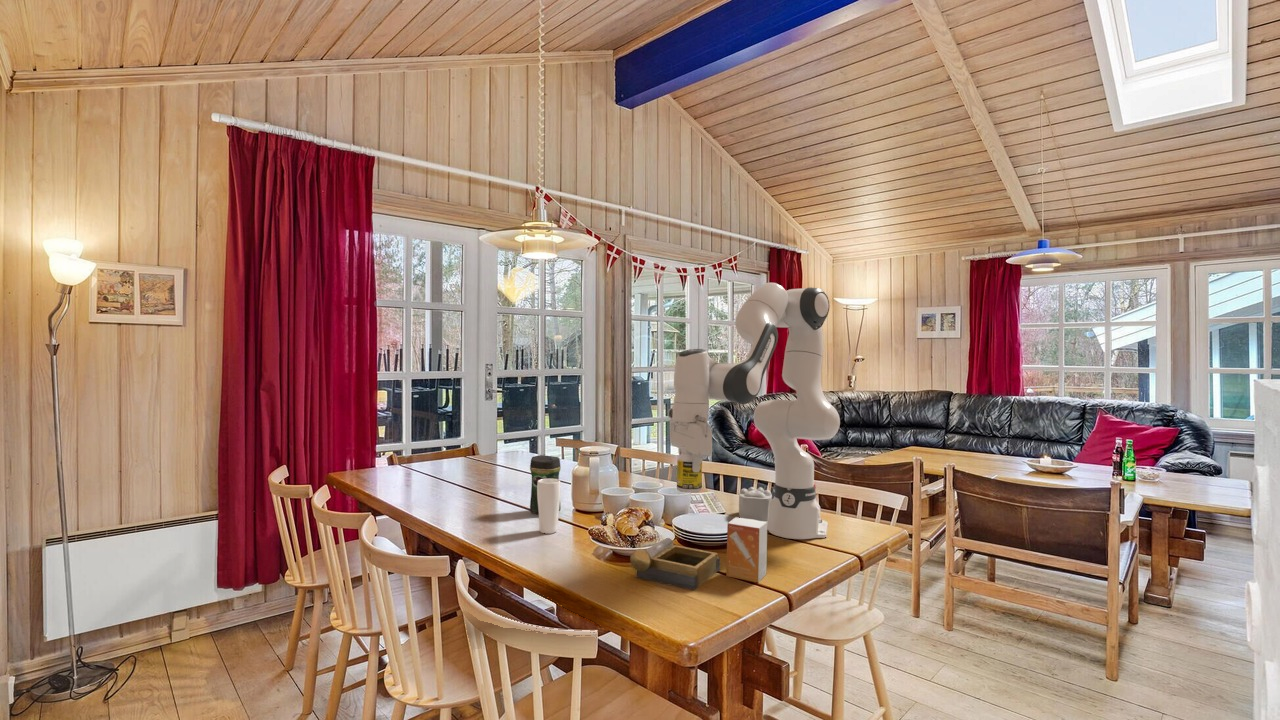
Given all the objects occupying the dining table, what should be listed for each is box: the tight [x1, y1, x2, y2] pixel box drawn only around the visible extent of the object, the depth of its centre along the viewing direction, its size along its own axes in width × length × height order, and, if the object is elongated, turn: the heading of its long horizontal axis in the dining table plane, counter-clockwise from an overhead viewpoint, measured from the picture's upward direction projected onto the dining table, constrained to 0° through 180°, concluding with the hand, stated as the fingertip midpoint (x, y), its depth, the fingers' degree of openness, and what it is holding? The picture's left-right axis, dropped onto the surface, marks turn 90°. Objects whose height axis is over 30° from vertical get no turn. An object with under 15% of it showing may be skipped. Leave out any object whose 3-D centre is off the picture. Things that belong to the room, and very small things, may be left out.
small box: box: [725, 516, 768, 583], centre depth 148 cm, size 8×6×13 cm
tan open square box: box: [629, 537, 721, 591], centre depth 149 cm, size 16×16×7 cm
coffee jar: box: [529, 454, 562, 515], centre depth 202 cm, size 10×8×19 cm
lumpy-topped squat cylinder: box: [738, 486, 773, 522], centre depth 201 cm, size 10×13×9 cm
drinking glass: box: [537, 478, 562, 535], centre depth 182 cm, size 7×7×15 cm
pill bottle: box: [676, 446, 703, 494], centre depth 155 cm, size 6×6×11 cm
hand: (689, 469), depth 155 cm, fingers closed on pill bottle, 6 cm apart
